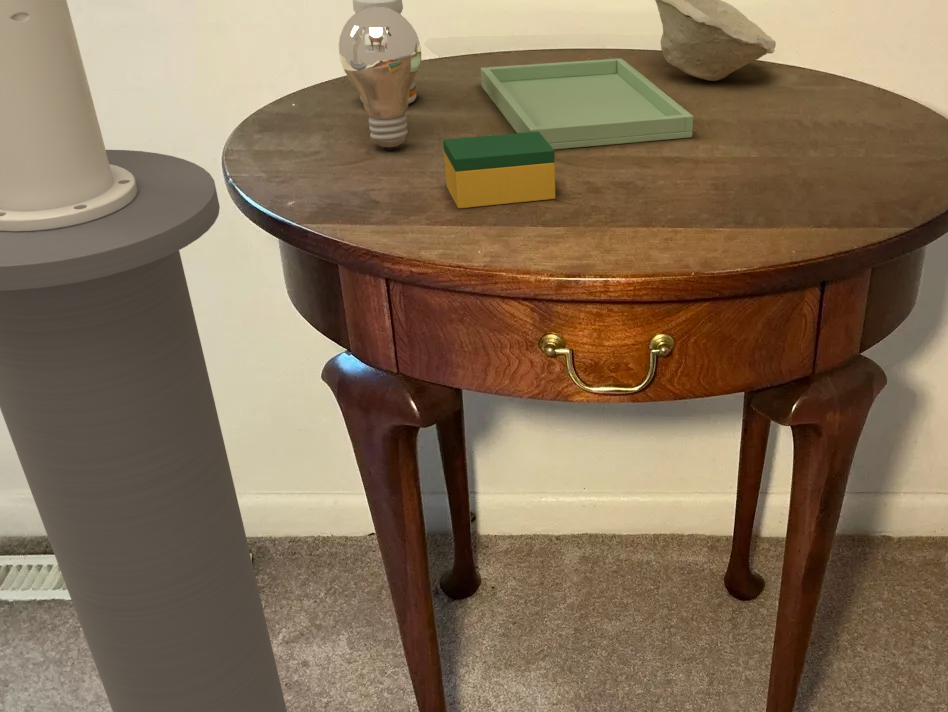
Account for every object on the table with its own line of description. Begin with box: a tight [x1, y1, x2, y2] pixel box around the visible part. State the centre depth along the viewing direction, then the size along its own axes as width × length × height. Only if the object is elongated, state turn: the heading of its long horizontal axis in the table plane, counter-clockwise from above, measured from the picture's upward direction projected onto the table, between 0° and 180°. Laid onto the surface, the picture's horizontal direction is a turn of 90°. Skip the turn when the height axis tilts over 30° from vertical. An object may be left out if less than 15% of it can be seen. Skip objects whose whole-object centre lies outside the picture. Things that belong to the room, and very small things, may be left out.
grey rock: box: [654, 0, 777, 82], centre depth 113 cm, size 15×14×10 cm
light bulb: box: [338, 7, 422, 151], centre depth 91 cm, size 7×7×12 cm
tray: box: [480, 57, 694, 151], centre depth 105 cm, size 16×22×2 cm
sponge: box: [442, 132, 556, 209], centre depth 85 cm, size 8×5×4 cm, turn 107°
